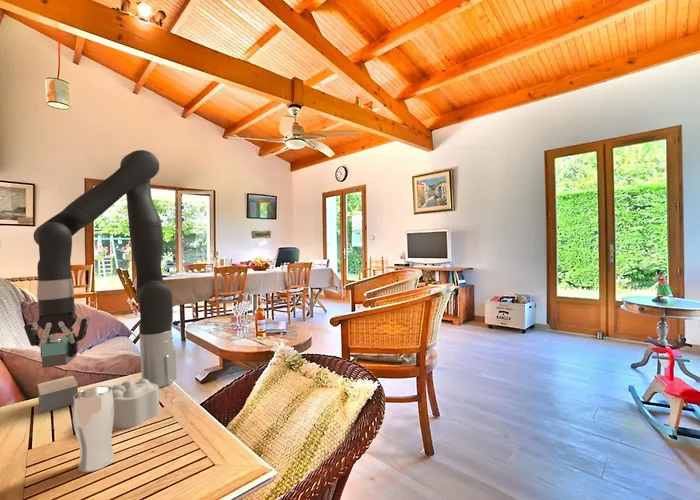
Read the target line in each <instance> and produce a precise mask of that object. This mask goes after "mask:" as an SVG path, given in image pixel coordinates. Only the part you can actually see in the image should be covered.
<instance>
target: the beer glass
mask: <svg viewBox="0 0 700 500" xmlns="http://www.w3.org/2000/svg"><path fill="white" fill-rule="evenodd" d="M112 387H113V386H110V385H97V386H93V387H89V388H85V389H83V390H80V391H79V392H78V393H76V394H75V395H74V396H73V404H72V424H73V429H74V432H75V435H76V436H75V437H76V439H77V440H76V441H77V443H78V447H79V461H78V467H77V470H78V471H79V472H80V473H85V474H86V473H93V472H96V471H99V470H102V469H104V468H106V467H107V466H108V465H111V463H112V462H113V461H114V460H115V453H114V451H113V446H112V435H113V428H114V427H113V422H114V398H113V392H112Z"/></svg>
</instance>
